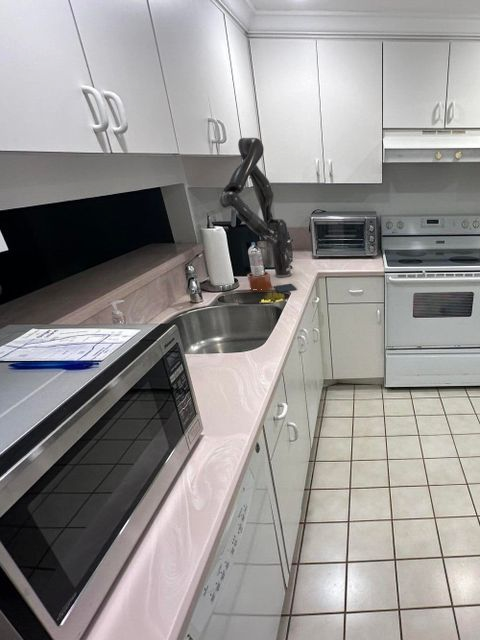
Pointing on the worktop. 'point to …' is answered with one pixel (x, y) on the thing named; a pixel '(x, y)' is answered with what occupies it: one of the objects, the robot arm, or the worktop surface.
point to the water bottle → (256, 261)
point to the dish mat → (285, 288)
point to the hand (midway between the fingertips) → (277, 243)
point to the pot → (259, 282)
